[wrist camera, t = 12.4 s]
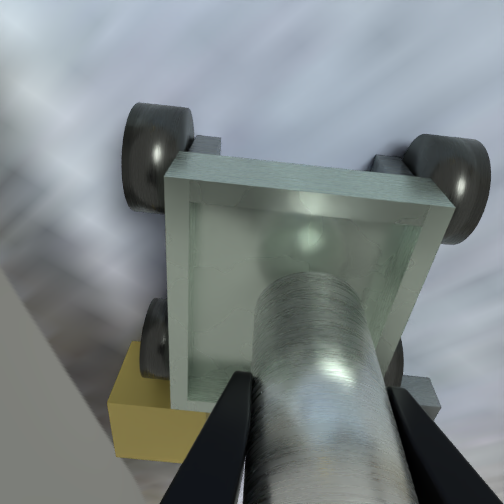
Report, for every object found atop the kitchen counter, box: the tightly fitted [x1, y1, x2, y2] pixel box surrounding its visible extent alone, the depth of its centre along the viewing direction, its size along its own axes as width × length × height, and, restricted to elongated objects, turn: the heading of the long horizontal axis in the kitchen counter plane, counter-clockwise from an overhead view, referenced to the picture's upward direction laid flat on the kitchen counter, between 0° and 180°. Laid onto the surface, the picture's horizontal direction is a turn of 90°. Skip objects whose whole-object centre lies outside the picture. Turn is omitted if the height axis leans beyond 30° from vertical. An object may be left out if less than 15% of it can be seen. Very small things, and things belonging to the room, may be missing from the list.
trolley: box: [122, 103, 491, 413], centre depth 14 cm, size 11×10×4 cm
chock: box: [107, 341, 210, 463], centre depth 18 cm, size 4×4×4 cm
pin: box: [243, 271, 419, 504], centre depth 8 cm, size 3×3×8 cm
